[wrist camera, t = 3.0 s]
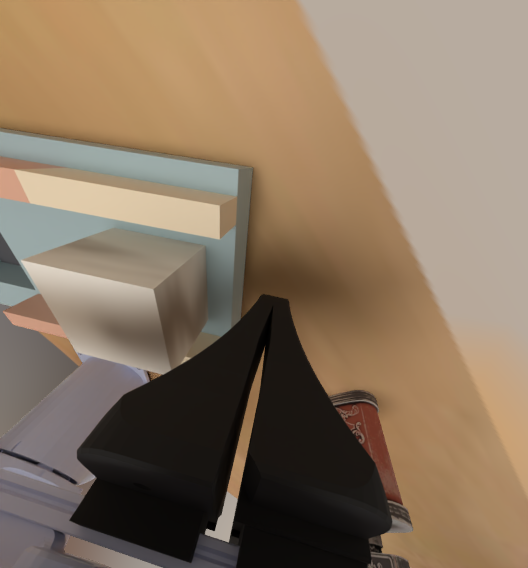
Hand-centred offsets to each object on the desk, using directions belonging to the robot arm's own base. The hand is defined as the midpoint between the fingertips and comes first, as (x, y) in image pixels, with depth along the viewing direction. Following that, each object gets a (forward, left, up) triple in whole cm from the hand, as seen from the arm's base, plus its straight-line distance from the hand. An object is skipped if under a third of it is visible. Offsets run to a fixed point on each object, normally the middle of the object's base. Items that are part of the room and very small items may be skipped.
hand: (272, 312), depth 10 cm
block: (0, +6, -1) cm, 6 cm away
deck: (0, +13, -3) cm, 14 cm away
